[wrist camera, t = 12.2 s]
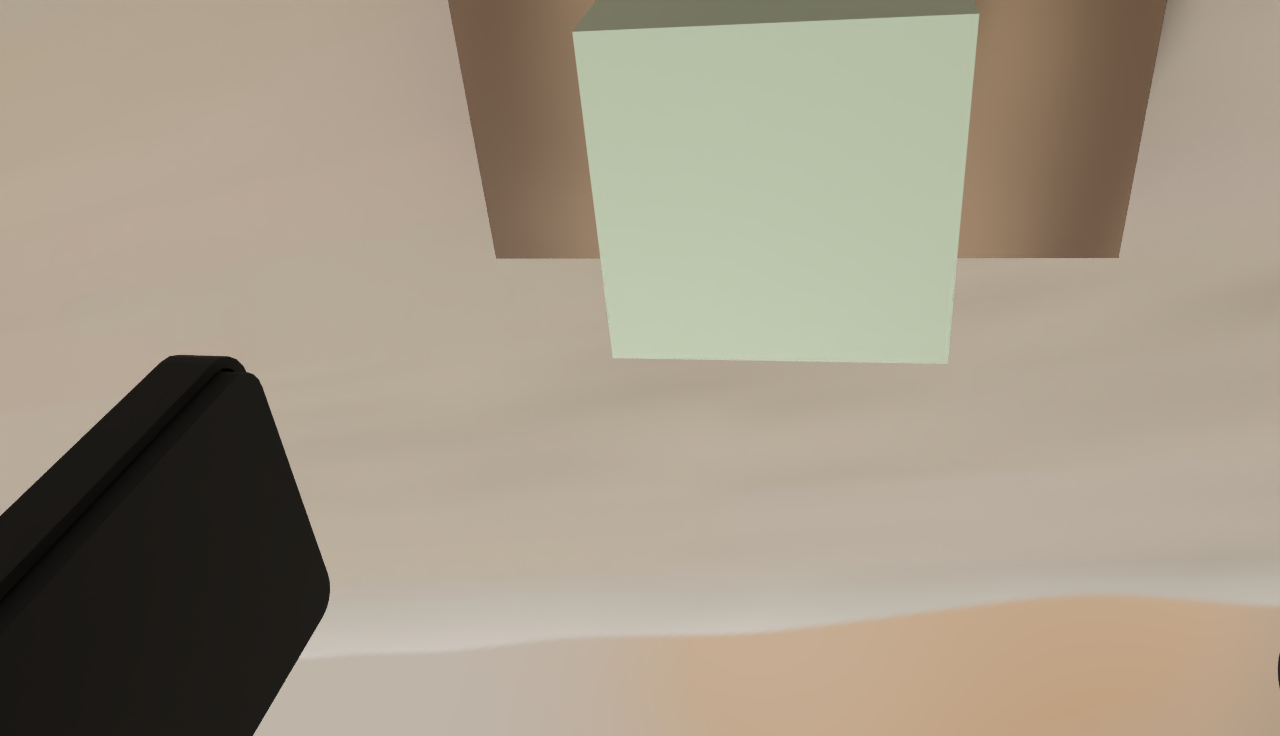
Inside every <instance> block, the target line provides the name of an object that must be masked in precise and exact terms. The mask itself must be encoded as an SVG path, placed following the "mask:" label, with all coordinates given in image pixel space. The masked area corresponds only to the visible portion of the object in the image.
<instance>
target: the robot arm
mask: <svg viewBox="0 0 1280 736" xmlns="http://www.w3.org/2000/svg"><path fill="white" fill-rule="evenodd" d="M329 594H330V581H329V577H328V573H327V570H326V567H325V565H324V562H323V559H322V556H321V553H320V550H319V547H318V545H317V542H316V539H315V536H314V533H313V530H312V528H311V525H310V522H309V519H308V516H307V513H306V510H305V508H304V505H303V502H302V499H301V496H300V493H299V490H298V488H297V485H296V482H295V479H294V476H293V473H292V470H291V468H290V465H289V462H288V459H287V456H286V453H285V450H284V448H283V445H282V442H281V439H280V436H279V433H278V431H277V428H276V425H275V422H274V419H273V416H272V413H271V411H270V408H269V405H268V402H267V399H266V396H265V393H264V391H263V388H262V386H261V384H260V381H259V379H258V378H257V377H256V376H255V375H254V374H251V373H248V372H246V370H245V368H244V367H243V365H242V364H241V363H240V362H239V361H238V360H237V359H234V358H231V357H227V356H195V355H175V356H169V357H168V358H166V359H165V360H163V361H162V362H161V363H159V364H158V365H157V366H156V367H155V368H154V369H153V370H152V371H151V372H150V373H149V374H148V375H147V376H146V377H145V378H144V379H143V380H142V381H141V382H140V383H139V384H138V385H137V386H135V387H134V388H133V389H132V390H131V391H130V392H129V393H128V394H127V395H126V396H125V397H124V398H123V399H122V400H121V401H120V402H119V403H118V404H117V405H116V406H115V407H114V408H113V409H111V410H110V411H109V412H108V413H107V414H106V415H105V416H104V417H103V418H102V419H101V420H100V421H99V422H98V423H97V424H96V425H95V426H94V427H93V428H92V429H91V430H90V431H89V432H87V433H86V434H85V435H84V436H83V437H82V438H81V439H80V440H79V441H78V442H77V443H76V444H75V445H74V446H73V447H72V448H71V449H70V450H69V451H68V452H67V453H66V454H65V455H63V456H62V457H61V458H60V459H59V460H58V461H57V462H56V463H55V464H54V465H53V466H52V467H51V468H50V469H49V470H48V471H47V472H46V473H45V474H44V475H43V476H42V477H41V478H40V479H38V480H37V481H36V482H35V483H34V484H33V485H32V486H31V487H30V488H29V489H28V490H27V491H26V492H25V493H24V494H23V495H22V496H21V497H20V498H19V499H18V500H17V501H16V502H14V503H13V504H12V505H11V506H10V507H9V508H8V509H7V510H6V511H5V512H4V513H3V514H2V515H1V516H0V736H253V734H254V733H255V731H256V729H257V728H258V726H259V724H260V723H261V721H262V719H263V717H264V716H265V714H266V712H267V711H268V709H269V707H270V705H271V704H272V702H273V700H274V699H275V697H276V695H277V694H278V692H279V690H280V688H281V687H282V685H283V683H284V682H285V680H286V678H287V676H288V675H289V673H290V672H291V670H292V668H293V666H294V665H295V663H296V661H297V660H298V658H299V656H300V655H301V653H302V651H303V649H304V648H305V646H306V644H307V643H308V641H309V639H310V638H311V636H312V634H313V632H314V631H315V629H316V627H317V626H318V624H319V622H320V621H321V619H322V617H323V615H324V613H325V611H326V608H327V605H328V601H329ZM1278 680H1279V686H1280V655H1279V661H1278Z"/></svg>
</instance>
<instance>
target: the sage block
mask: <svg viewBox="0 0 1280 736" xmlns="http://www.w3.org/2000/svg"><path fill="white" fill-rule="evenodd" d="M978 23H979V11H978V9H977V6H976V3H975V1H974V0H596V2H595V3H594V4H593V5H592V7H591V8H590V9H589V11H588V12H587V13H586V15H585V16H584V17H583V18H582V20H581V21H580V22H579V24H578V25H577V26H576V28H575V29H574V30H573V31H572V34H573V42H574V50H575V58H576V66H577V74H578V82H579V90H580V98H581V106H582V115H583V123H584V131H585V139H586V147H587V155H588V163H589V171H590V179H591V187H592V195H593V203H594V211H595V219H596V227H597V235H598V243H599V251H600V259H601V267H602V276H603V284H604V292H605V300H606V308H607V316H608V324H609V332H610V340H611V348H612V356H613V358H641V359H699V360H757V361H815V362H873V363H931V364H948V353H949V342H950V331H951V320H952V309H953V298H954V287H955V276H956V265H957V254H958V243H959V232H960V221H961V210H962V199H963V188H964V177H965V166H966V155H967V144H968V133H969V122H970V111H971V100H972V89H973V78H974V67H975V56H976V45H977V34H978Z"/></svg>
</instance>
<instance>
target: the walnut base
mask: <svg viewBox="0 0 1280 736" xmlns="http://www.w3.org/2000/svg"><path fill="white" fill-rule="evenodd" d="M974 1H975V3H976V6H977V9H978V11H979V23H978V34H977V45H976V56H975V67H974V78H973V89H972V100H971V111H970V122H969V133H968V144H967V155H966V166H965V177H964V188H963V199H962V210H961V221H960V232H959V243H958V254H957V258H1119V252H1120V247H1121V242H1122V236H1123V231H1124V226H1125V220H1126V215H1127V210H1128V205H1129V199H1130V194H1131V189H1132V183H1133V178H1134V173H1135V167H1136V162H1137V157H1138V152H1139V146H1140V141H1141V136H1142V130H1143V125H1144V120H1145V114H1146V109H1147V104H1148V99H1149V93H1150V88H1151V83H1152V77H1153V72H1154V67H1155V61H1156V56H1157V51H1158V46H1159V40H1160V35H1161V30H1162V24H1163V19H1164V14H1165V8H1166V3H1167V0H974ZM448 2H449V8H450V13H451V19H452V24H453V29H454V35H455V40H456V45H457V51H458V56H459V61H460V67H461V72H462V78H463V83H464V88H465V94H466V99H467V104H468V110H469V115H470V120H471V126H472V131H473V137H474V142H475V147H476V153H477V158H478V163H479V169H480V174H481V179H482V185H483V190H484V196H485V201H486V206H487V212H488V217H489V222H490V228H491V233H492V238H493V244H494V249H495V255H496V258H600V251H599V243H598V235H597V227H596V219H595V211H594V203H593V195H592V187H591V179H590V171H589V163H588V155H587V147H586V139H585V131H584V123H583V115H582V106H581V98H580V90H579V82H578V74H577V66H576V58H575V50H574V42H573V34H572V31H573V30H574V29H575V28H576V26H577V25H578V24H579V22H580V21H581V20H582V18H583V17H584V16H585V15H586V13H587V12H588V11H589V9H590V8H591V7H592V5H593V4H594V3H595V2H596V0H448Z"/></svg>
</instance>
